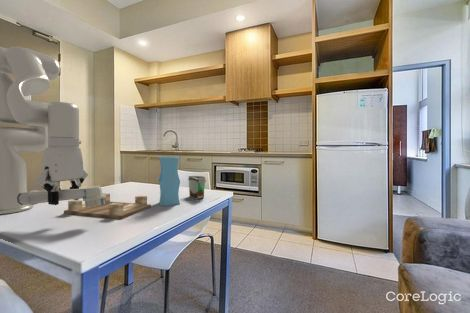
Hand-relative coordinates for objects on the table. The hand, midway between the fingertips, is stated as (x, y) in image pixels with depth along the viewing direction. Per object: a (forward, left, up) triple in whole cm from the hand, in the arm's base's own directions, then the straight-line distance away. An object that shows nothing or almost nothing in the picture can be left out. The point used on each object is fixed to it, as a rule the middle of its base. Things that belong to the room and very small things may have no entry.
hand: (64, 201), depth 69 cm
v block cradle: (+1, +17, -7) cm, 18 cm away
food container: (+25, +47, -8) cm, 54 cm away
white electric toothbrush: (0, 0, -2) cm, 2 cm away
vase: (+17, +33, -7) cm, 38 cm away
